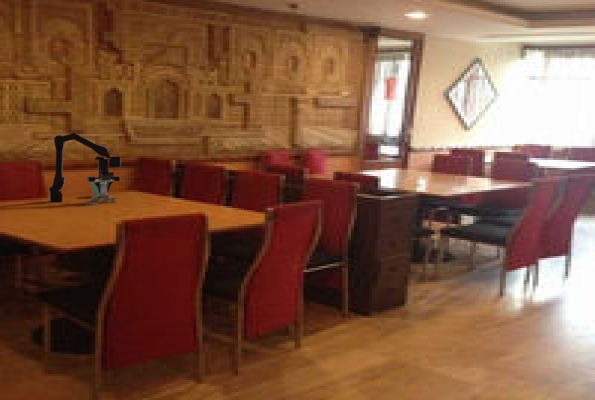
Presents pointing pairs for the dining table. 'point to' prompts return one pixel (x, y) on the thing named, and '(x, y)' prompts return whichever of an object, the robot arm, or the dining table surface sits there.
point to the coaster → (89, 203)
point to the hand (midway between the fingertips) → (103, 192)
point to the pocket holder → (104, 199)
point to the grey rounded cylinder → (103, 190)
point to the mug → (96, 188)
